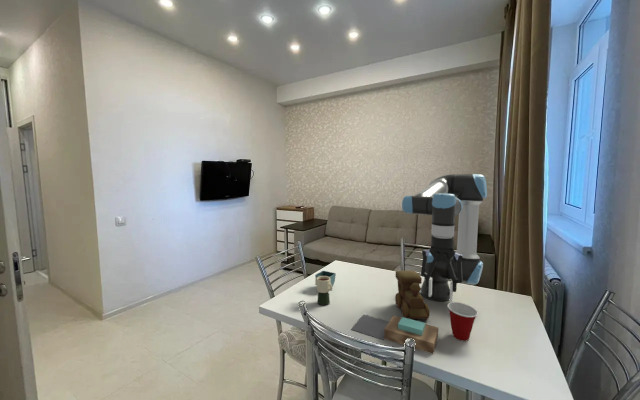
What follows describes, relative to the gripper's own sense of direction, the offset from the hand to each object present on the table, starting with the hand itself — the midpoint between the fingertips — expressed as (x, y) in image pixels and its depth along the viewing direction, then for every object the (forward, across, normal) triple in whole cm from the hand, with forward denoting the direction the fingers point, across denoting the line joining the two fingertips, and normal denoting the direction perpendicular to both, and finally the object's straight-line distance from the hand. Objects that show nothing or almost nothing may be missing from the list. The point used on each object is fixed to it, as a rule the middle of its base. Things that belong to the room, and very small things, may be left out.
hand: (440, 297), depth 100 cm
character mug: (+19, +55, -8) cm, 59 cm away
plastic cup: (+19, -7, -11) cm, 23 cm away
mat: (+19, +26, 0) cm, 32 cm away
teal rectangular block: (+15, +10, 0) cm, 18 cm away
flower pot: (+19, +62, -23) cm, 69 cm away
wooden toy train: (+19, +15, -21) cm, 32 cm away
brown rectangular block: (+19, +10, 0) cm, 21 cm away
